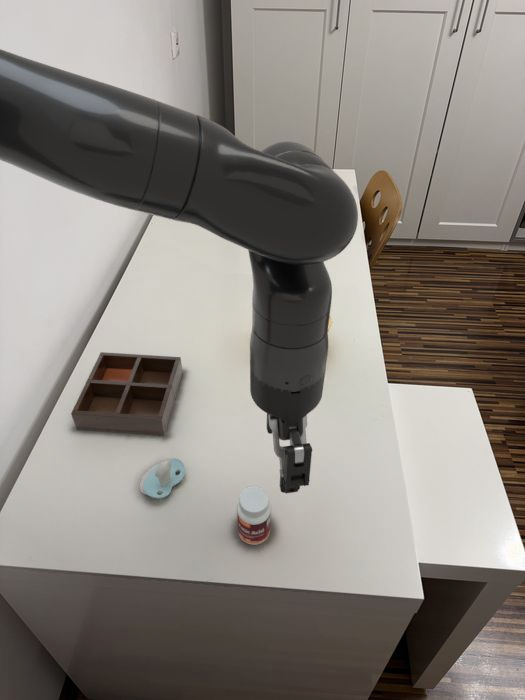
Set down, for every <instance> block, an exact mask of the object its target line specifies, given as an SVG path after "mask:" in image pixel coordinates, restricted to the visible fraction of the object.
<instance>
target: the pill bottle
mask: <svg viewBox="0 0 525 700" xmlns="http://www.w3.org/2000/svg"><path fill="white" fill-rule="evenodd" d="M236 519H237V520H236V521H237V522H236V523H237V533H238V536H239V538H240V539H241V540H242V541H243V542H244V543H246V544H249V545H252V546H253V545H254V546H255V545H260V544H262V543H264V542H265V541H267V539H268V538H269V536H270V533H271V525H272V524H271V523H272V504H271V502H270V496H269V493H268V492H267V490H265V488H263V487H261V486H257V485H252V486H248V487H245V488H244V489H242V491H241V492H240V494H239V497H238V503H237V505H236Z"/></svg>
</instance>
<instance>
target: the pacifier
mask: <svg viewBox="0 0 525 700" xmlns="http://www.w3.org/2000/svg"><path fill="white" fill-rule="evenodd" d="M185 467H186V466H185V464H184V462H183V461H182V460H180V459H179V458H165V459H164V460H163V461H161V462H159V463H157V464H154V465H153V466H150V468H149V469H147V470H146V472H145V473H144V474H143V475H142V478H140V482H139V491H140V492H141V494H143V495H145V496H149V497H150V498H152V499H159V500H160V499H165V498H166V497H168V496H169V495H170V494H171V492H172V488H173V487H174V486H176V485H178V484H179V483H181V481H182V480H183V479H184V477H185V473H186V468H185ZM177 472H179V474H176V473H177Z"/></svg>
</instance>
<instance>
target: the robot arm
mask: <svg viewBox="0 0 525 700" xmlns="http://www.w3.org/2000/svg"><path fill="white" fill-rule="evenodd" d="M0 161H2V162H4V163H7V164H9V165H12V166H14V167H17V168H19V169H20V170H23V171H26V172H27V173H29V174H32V175H34V176H37V177H39V178H40V179H43V180H45V181H48V182H50V183H52V184H55V185H57V186H59V187H62V188H64V189H67V190H69V191H72V192H75V193H76V194H78V195H82V196H84V197H88V198H90V199H93V200H96V201H98V202H102V203H105V204H108V205H112V206H116V207H119V208H123V209H127V210H131V211H134V212H139V213H143V214H146V215H151V216H155V217H159V218H162V219H167V220H169V221H170V220H172V221H175V222H180V223H183V224H184V223H185V224H190V225H193V226H197V227H200V228H201V229H204V230H206V231H208V232H210V233H211V234H213V235H215V236H218V237H219V238H221V239H223V240H225V241H228V242H229V243H231V244H232V243H233V244H234V245H237V246H239V247H241V248H243V249H246V250H247V251H248V257H249V261H250V262H249V263H250V267H251V273H252V274H251V275H252V295H251V296H252V297H251V298H252V299H251V308H252V309H251V316H252V317H251V318H252V319H251V323H252V324H251V325H252V327H251V333H250V339H249V385H250V386H249V387H250V388H249V390H250V396H251V399H252V401H253V402H254V404H255V405H256V406H257V407H258V408H259V410H261V411H263V412H264V413H266V431H267V433H268V434H270V435H272V444H273V451H274V454H275V455H276V457H277V458H278V460H279V490H280V492H281V493H284V494H291V493H297V492H299V490H300V489H301V487H307V486H310V481H311V480H310V476H311V466H312V453H313V446H311V443H310V442H308V443H307V431H306V428H307V426H308V416H307V415H308V414H310V413H311V412H312V411H314V410H315V409H316V408H317V407H318V405H319V404H320V402H321V400H322V398H323V391H324V385H325V376H326V371H327V370H326V368H327V361H328V353H329V331H328V325H329V317H331V307H332V299H333V285H332V281H331V276H330V274H329V272H328V270H327V269H328V268H327V267H326V265H325V262H327V261H330V260H332V259H333V258H335V257H336V256H338V255H340V254H341V253H342V252H343V251H344V250H345V249H346V248H347V247H348V245H350V243H351V241H352V240H353V238H354V236H355V234H356V231H357V227H358V223H359V222H358V221H359V210H358V205H357V202H356V198H355V196H354V194H353V192H352V190H351V188H350V186H349V185H348V184H347V183H346V182H345V180H344V179H343V178H342V177H341V176H339V174H337V173H336V172H335V171H334V170H333V169H332V168H331V167H330V166H329V165H328V164H327V162H326V161H324V159H322V157H321V156H319V155H318V154H317V153H316V151H314V150H312V149H311V148H310V147H308V146H306V145H304V144H302V143H299V142H296V141H286V140H285V141H279V142H276V143H273V144H271V145H269V146H267V147H265V148H264V149H263V150H258V149H257V148H253V147H252V146H250V145H248V144H246V143H244V142H243V141H242V140H240V139H239V138H238V137H237V136H235V135H234V134H233V133H232V132H231V131H229V130H228V129H227V128H226V127H224V126H223V125H221V124H219V123H217V122H215V121H213V120H211V119H208V118H206V117H204V116H201V115H199V114H196V113H192V112H190V111H188V110H184V109H182V108H178V107H176V106H173V105H170V104H168V103H165V102H162V101H159V100H156V99H154V98H151V97H148V96H145V95H143V94H139V93H136V92H133V91H130V90H127V89H124V88H122V87H118V86H116V85H115V86H114V85H112V84H108V83H106V82H103V81H99V80H96V79H93V78H89V77H87V76H82V75H81V74H80V75H79V74H76V73H73V72H70V71H68V70H65V69H61V68H58V67H55V66H52V65H48V64H47V63H46V64H45V63H42V62H39V61H37V60H33V59H30V58H27V57H23V56H21V55H18V54H15V53H12V52H10V51H7V50H3V49H1V48H0ZM280 440H281V441H289V444H290V445H284V446H281V444H280Z"/></svg>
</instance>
